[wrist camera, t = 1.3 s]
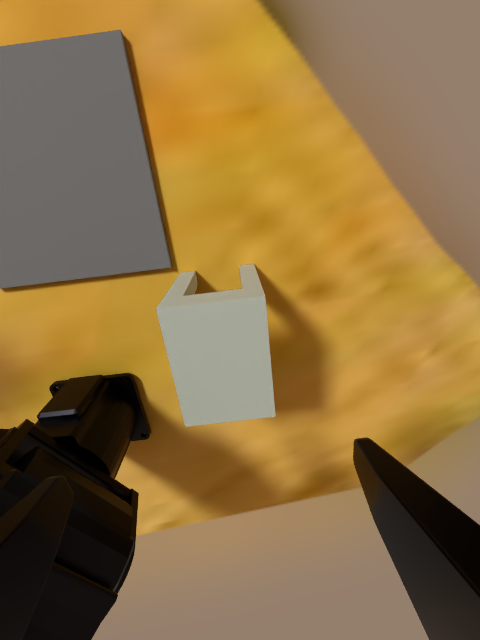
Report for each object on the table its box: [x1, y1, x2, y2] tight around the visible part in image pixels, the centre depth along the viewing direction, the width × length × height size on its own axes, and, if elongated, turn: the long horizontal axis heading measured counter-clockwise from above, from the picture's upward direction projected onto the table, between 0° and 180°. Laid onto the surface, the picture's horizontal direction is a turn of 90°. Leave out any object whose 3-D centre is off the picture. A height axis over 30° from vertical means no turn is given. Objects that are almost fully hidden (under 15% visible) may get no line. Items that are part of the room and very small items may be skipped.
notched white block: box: [156, 264, 276, 427], centre depth 17 cm, size 7×5×7 cm
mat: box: [0, 30, 172, 289], centre depth 17 cm, size 12×12×1 cm
